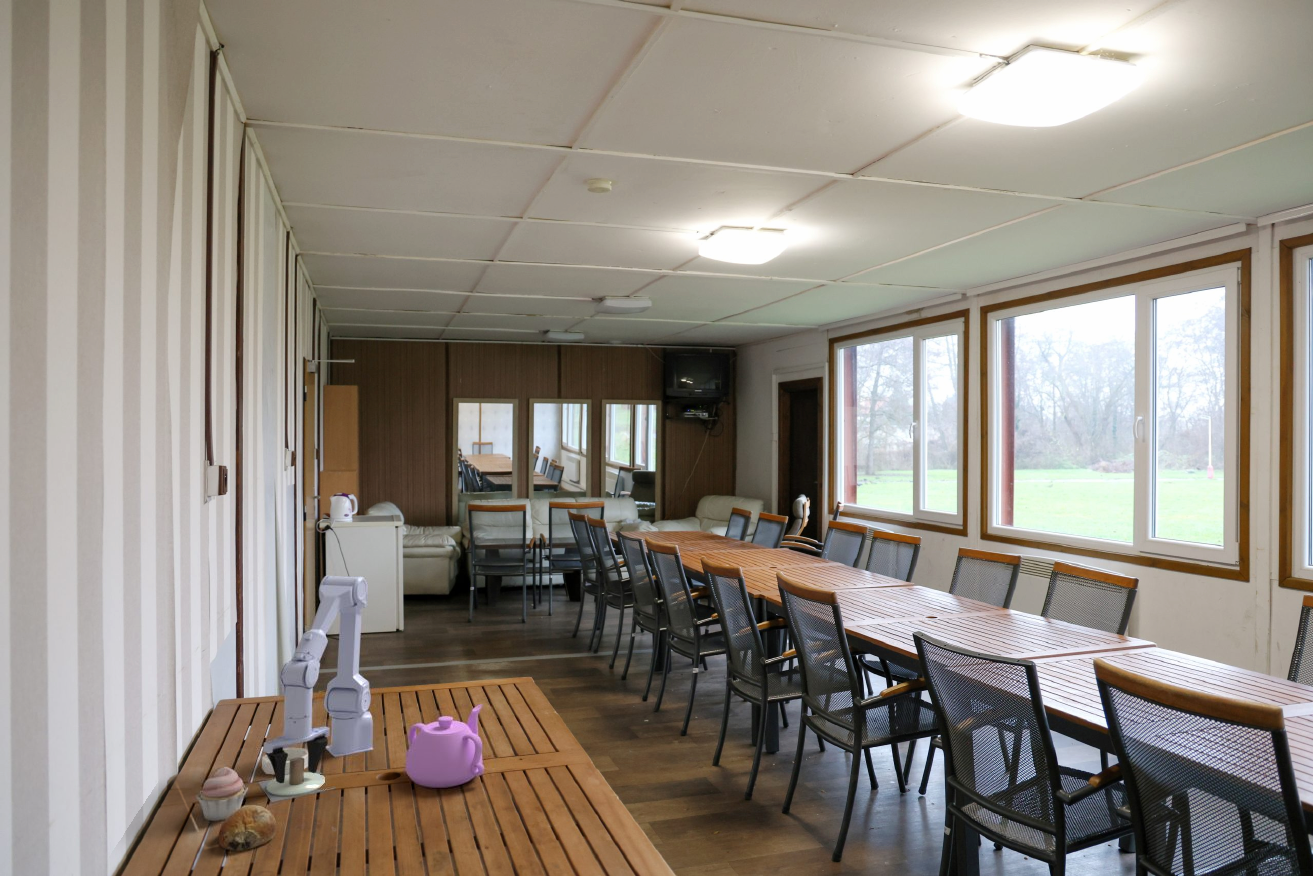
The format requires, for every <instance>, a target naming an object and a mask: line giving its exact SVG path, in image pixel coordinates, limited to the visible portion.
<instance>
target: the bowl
mask: <svg viewBox="0 0 1313 876" xmlns="http://www.w3.org/2000/svg"><path fill="white" fill-rule="evenodd" d="M283 750H284V752H285V753H288V757H287V760H286V765H285V775H287V774H289V768H290V760H291V759H293V758H299V757H300V758H304V770H305V769H308V748H303V747H302V748H301V747H286V748H283ZM261 769H262V771H263V772H264V773H265V774H266V775H275V773H274V769H273V766H272V764H271V762H270V760H269V758H268V756H267V755H266V754H264V755H263V756H261Z"/></svg>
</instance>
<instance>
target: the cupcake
mask: <svg viewBox="0 0 1313 876" xmlns="http://www.w3.org/2000/svg"><path fill="white" fill-rule="evenodd" d="M202 788H203V790H201V791H199V794H197V795H196V799H197V800H198V802H199V804H200V806H201V809H202V813H203V818H204V819H205V820H207V821H211V822H219V821H225V819H226V818H228V817H229V816H230V815H231V814H232V813H233V812H235V811H236V810H238V809H240V808H241V807H242V803H243V800H244V797H245V796H246V793H247V791H248V790H249V787H246V786H245V784H244V781H243V780H242V778H241V777H239V775H238V773H237V772H236V771H235V770H234V769H233V768H230V767H226V766H223V767H222V768H219V769H217V771H216V772H215V773H214V774H213V776H212V777H210V778H208V779H206V780H205V781H204V783H203V787H202Z"/></svg>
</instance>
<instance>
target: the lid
mask: <svg viewBox="0 0 1313 876" xmlns="http://www.w3.org/2000/svg"><path fill="white" fill-rule="evenodd" d="M325 778H326V777H325V776H324V775H320V774H317V773H309V771H306V772H305V769H304V758H300V757H299V758H293V759H291V760H290V768H289V774H285V780H284V783H279V782H276V777H275V778H272V779H273V780H272V779H270V780H271V781H270V782H269V783H268V784H267V792H268V793H270V794H272V795H276V796H297V795H303V794H307V793H311V792H313V791H316V790H317V789H318V788H320V787H321V786H322V785H323V784H324V783H325Z"/></svg>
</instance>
